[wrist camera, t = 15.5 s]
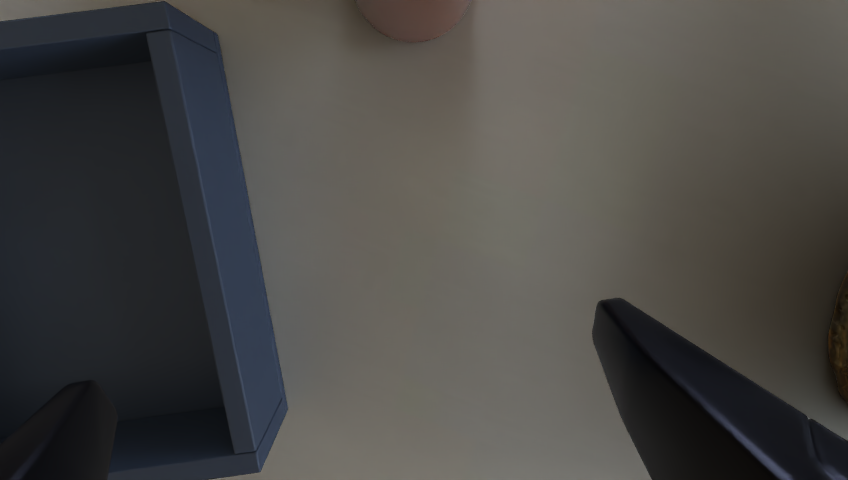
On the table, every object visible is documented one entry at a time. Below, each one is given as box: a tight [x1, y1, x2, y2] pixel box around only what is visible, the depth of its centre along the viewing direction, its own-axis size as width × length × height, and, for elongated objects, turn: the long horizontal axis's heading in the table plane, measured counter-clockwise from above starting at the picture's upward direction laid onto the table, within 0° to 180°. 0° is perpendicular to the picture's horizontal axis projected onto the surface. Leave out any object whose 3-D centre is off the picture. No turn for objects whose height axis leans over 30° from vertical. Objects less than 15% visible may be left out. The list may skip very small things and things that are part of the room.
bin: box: [0, 1, 288, 480], centre depth 19 cm, size 16×14×4 cm
